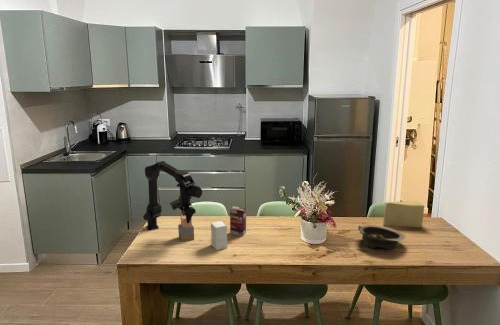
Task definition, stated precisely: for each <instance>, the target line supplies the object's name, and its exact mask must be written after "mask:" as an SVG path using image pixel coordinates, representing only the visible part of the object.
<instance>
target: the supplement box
mask: <svg viewBox="0 0 500 325" xmlns="http://www.w3.org/2000/svg"><path fill="white" fill-rule="evenodd" d="M229 225H230V226H229V227H230V228H229V229H230V230H229V232H230V233H229V234H230V235H236V236H240V237H244V236H245V235H246V234H247V207H241V206H240V207H239V206H231V208H229Z"/></svg>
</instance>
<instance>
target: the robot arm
mask: <svg viewBox="0 0 500 325" xmlns="http://www.w3.org/2000/svg"><path fill="white" fill-rule="evenodd" d="M160 171H162V172H164V173H166V174H167V175H169V176H171V177H173V178H174V180H175V181H176V182H177V184H176V187H179V196H178V198H177V199H175V200H173V201H171V202H169V205H170V207H171V209H172V211H175V210H177V209H179V210H180V212H181V216H186V221H187V223H189V222H190V220H191V218H192V217H193V215H194V214H196V209H195V207H193V205H192V203H191V201H192V197H193V198H196V199H200V198H201V197H202V195H203V190H202V188H201V187H200V185H198V184H196V182H195V180H194V178H193V176H192V174H191V173H190V172H189V171H186V170H180V169H178V168H176V167H174V166H172V165H171V164H168V163H167V162H166V161H165V160H161V161H158V162H156V163H154V164H152V165H148V166H145V168H144V173H145V174H144V175H145V177H146V179H147V180H148V185H147V186H148V204H147V207H146V211H145V213H144V215H143V220H144V221H146V222H147V225H146V226H145V227H146V229H147V231H150V230H156V229H157V230H158V229H159V226H158V219H157V218H159V217H161V213H162V211H163V210H162V205H161V204H160V203H159V202H158V178H159V176H160Z"/></svg>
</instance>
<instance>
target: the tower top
mask: <svg viewBox="0 0 500 325" xmlns="http://www.w3.org/2000/svg"><path fill="white" fill-rule="evenodd" d="M177 229H178V233H179V232H180V234H181V235H187V234H192V233H194V234H195V227H194V225H193V224H192V226H189V227H184V228H183V227H182V225H181V223H180V224H177Z"/></svg>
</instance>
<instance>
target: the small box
mask: <svg viewBox="0 0 500 325" xmlns="http://www.w3.org/2000/svg"><path fill="white" fill-rule="evenodd" d="M210 235H211V236H210V237H211V238H210V239H211V244H210V245H211V246H213V248H214V249H215V250H216V251H220V250H223V249H224V250H225V249H228V226H227V225H226V224H225V223H224V222H223V221H222V220H220V221H219V220H217V221H213V222H211V223H210Z"/></svg>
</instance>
